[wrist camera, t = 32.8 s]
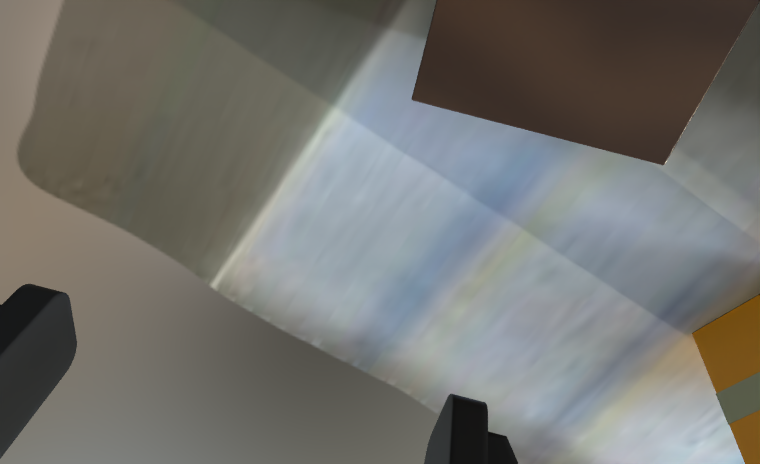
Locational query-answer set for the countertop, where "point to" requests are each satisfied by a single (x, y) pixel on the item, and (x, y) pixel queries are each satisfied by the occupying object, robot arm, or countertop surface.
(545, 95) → the cabinet
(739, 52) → the countertop surface
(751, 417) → the orange juice
